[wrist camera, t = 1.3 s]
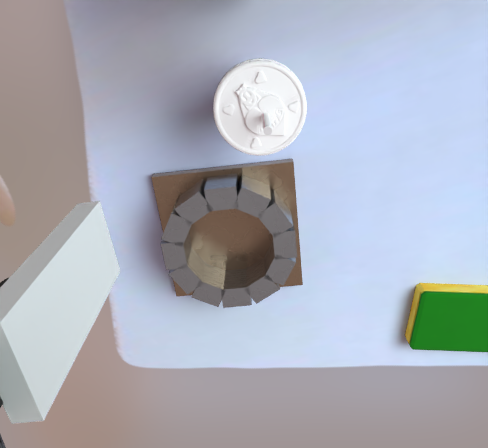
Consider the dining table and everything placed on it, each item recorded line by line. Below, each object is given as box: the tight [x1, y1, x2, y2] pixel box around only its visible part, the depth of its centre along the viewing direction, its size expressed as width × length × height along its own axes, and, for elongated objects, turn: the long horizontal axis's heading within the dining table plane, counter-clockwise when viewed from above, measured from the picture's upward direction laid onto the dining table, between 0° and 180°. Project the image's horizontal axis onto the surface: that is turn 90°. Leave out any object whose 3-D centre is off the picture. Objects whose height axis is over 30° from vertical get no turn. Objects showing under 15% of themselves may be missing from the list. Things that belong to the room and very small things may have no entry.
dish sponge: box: [405, 283, 488, 352], centre depth 48 cm, size 7×14×2 cm, turn 88°
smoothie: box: [213, 58, 307, 155], centre depth 33 cm, size 6×6×14 cm
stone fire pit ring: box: [151, 159, 303, 308], centre depth 43 cm, size 13×13×4 cm
